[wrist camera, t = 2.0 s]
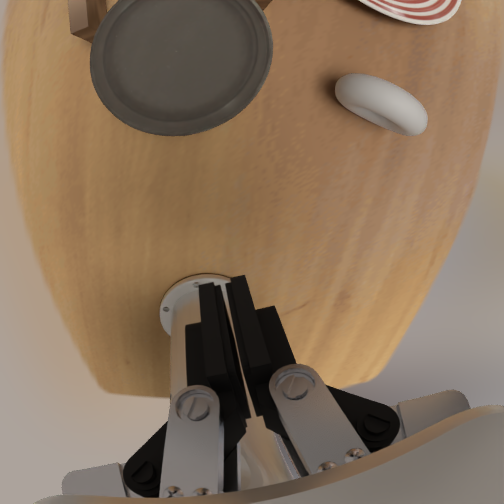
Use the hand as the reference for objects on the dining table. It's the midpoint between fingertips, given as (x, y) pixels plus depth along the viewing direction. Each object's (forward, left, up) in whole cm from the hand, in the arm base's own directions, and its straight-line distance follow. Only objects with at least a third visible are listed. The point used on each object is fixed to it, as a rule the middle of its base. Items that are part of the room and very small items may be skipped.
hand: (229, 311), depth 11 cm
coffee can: (+10, 0, -23) cm, 25 cm away
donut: (+5, -18, -23) cm, 30 cm away
